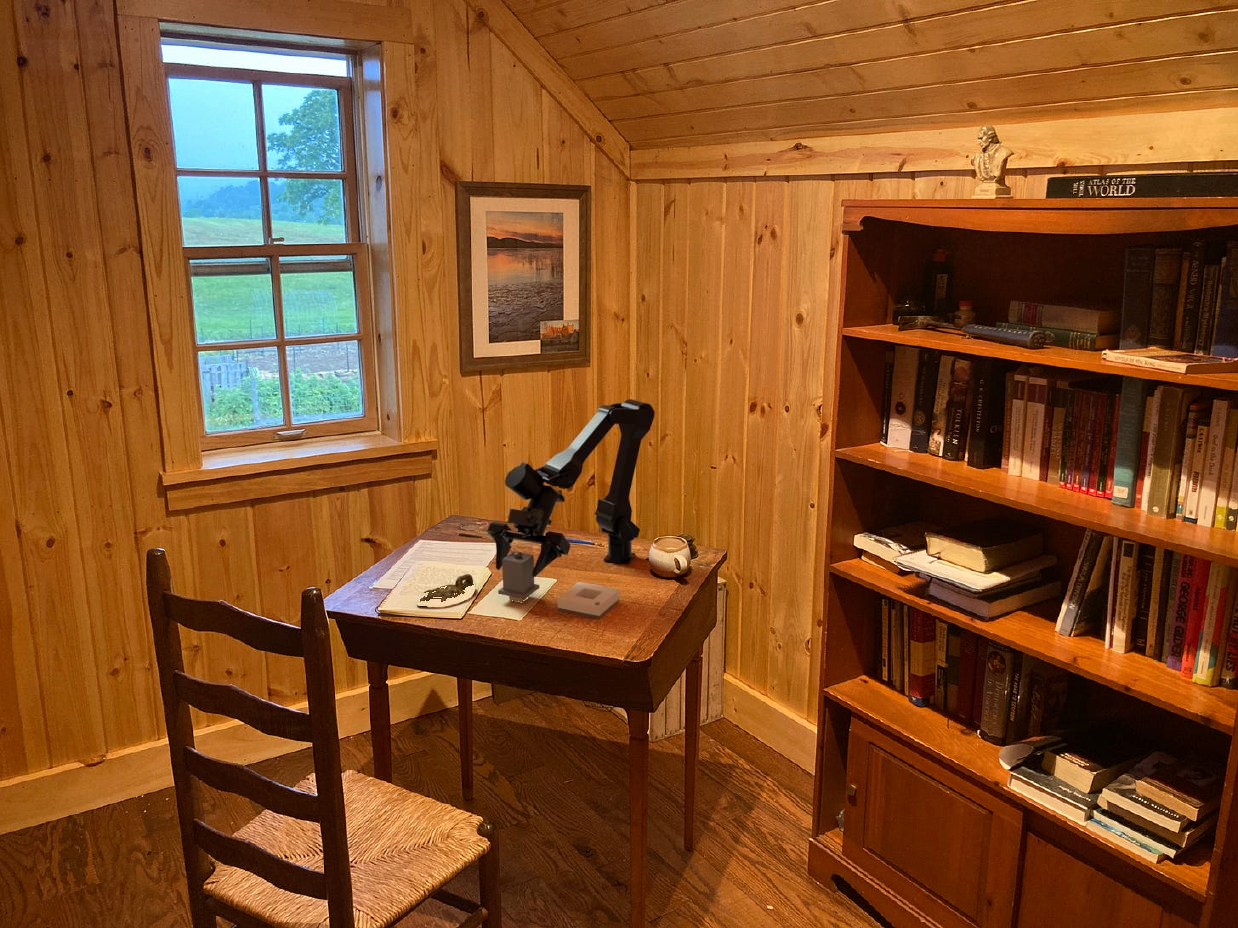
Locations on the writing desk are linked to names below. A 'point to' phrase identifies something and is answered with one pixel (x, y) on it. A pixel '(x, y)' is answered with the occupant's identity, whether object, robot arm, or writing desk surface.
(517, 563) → the grey block with knob
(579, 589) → the socket
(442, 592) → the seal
